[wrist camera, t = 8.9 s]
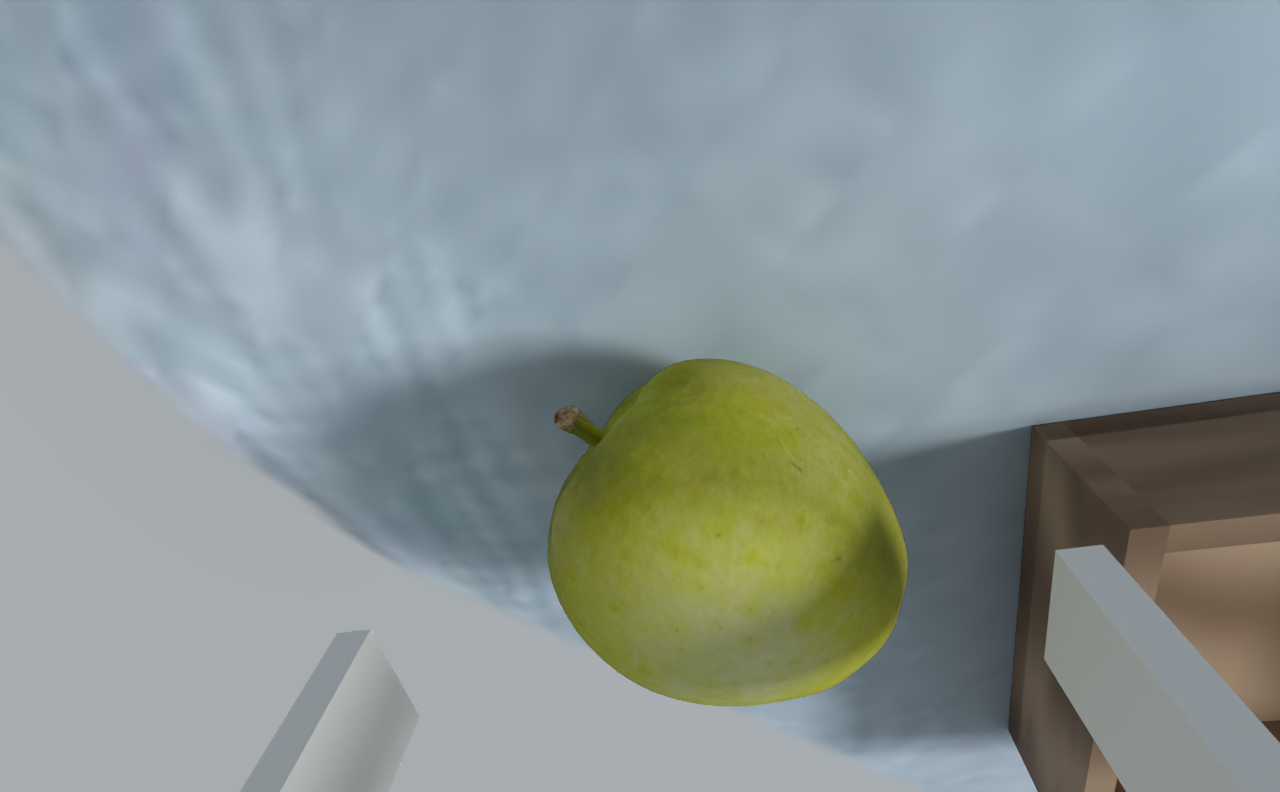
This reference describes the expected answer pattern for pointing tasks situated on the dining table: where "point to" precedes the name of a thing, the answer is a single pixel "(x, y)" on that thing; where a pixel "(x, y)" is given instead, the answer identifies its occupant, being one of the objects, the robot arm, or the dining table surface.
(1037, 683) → the walnut box
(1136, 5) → the dining table surface
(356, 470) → the dining table surface
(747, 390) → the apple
